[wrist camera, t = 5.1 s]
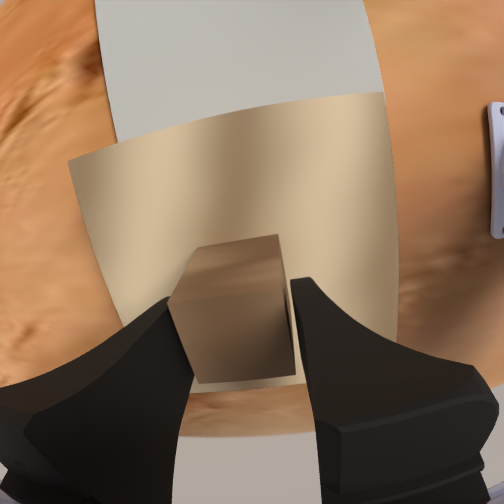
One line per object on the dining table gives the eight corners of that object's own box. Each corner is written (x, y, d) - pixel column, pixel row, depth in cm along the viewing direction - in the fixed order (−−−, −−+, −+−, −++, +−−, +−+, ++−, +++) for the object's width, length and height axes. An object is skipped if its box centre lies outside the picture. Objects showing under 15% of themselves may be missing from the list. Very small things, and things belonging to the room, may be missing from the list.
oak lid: (374, 93, 10) (437, 79, 6) (388, 353, 15) (418, 429, 10) (80, 158, 12) (-1, 182, 7) (161, 381, 16) (134, 453, 12)
